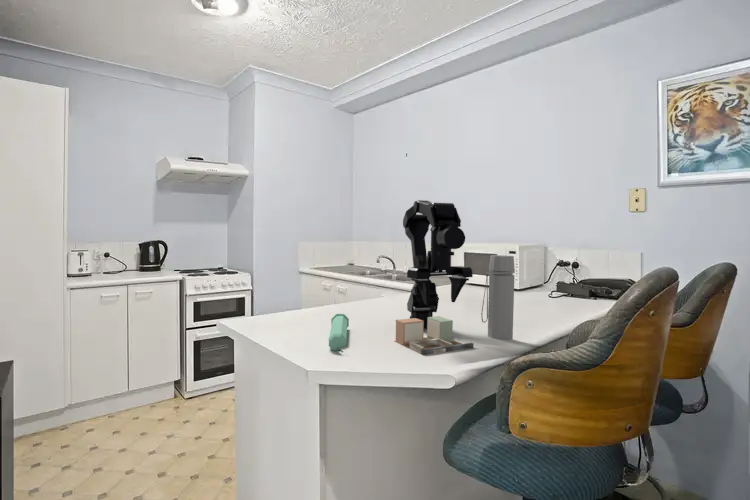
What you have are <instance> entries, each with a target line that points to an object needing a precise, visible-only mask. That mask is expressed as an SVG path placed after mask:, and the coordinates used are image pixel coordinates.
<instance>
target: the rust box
mask: <svg viewBox="0 0 750 500" xmlns="http://www.w3.org/2000/svg"><path fill="white" fill-rule="evenodd" d="M424 331H425V329H424V321H423V320H420V319H417V318H412V319H410V318H402V319H396V320H395V341H396V342H398V343H397V344H399V343H400V344H399V345H401V344H402V345H401V346H403V345H407V344H410V342H412V341H421V340H423V338H424V337H425V336H424V335H425V334H424ZM396 342H395V343H396Z"/></svg>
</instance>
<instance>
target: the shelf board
mask: <svg viewBox="0 0 750 500" xmlns="http://www.w3.org/2000/svg"><path fill="white" fill-rule="evenodd" d="M393 342H394V343H395V344H396V343H397V344H398V345H401V346H403V347H405V348H408V349H409V350H412V351H413V352H415V353H417V354H420V355H422V356H425V355H426V356H427V355H436V354H440V353H447V352H455V351H461V350H468V349H474V346H475V343H474V342H466V343H462V342H459V341H456V340H455V339H454V340H453V339H452V342H447V341H444V340H442V339H428V338H427V336H426V337H425V336H424V337H423V340H421V341H412V342H410V344H407V345H402V344H400V343H398V342H396V340H394V341H393Z"/></svg>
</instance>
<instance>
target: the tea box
mask: <svg viewBox="0 0 750 500" xmlns="http://www.w3.org/2000/svg"><path fill="white" fill-rule="evenodd" d="M453 324H454V321H453V319H449V318H446V317H443V316H439V315H436V316H433V317H427V329H426V337H427V338H428V339H442V340H444V341H447V342H452V340H453V331H454V329H453V326H454V325H453Z"/></svg>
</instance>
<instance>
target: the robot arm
mask: <svg viewBox="0 0 750 500" xmlns="http://www.w3.org/2000/svg"><path fill="white" fill-rule="evenodd" d="M461 223H462V220H461V218H460V215H459V213H458V210H457V208H456V207H455V204H454V203H453V202H451V203H450V202H431V201H429V200H422V199H421V200H420V199H418V200H415V201H413V205H412V206H411V207H409V208H408V209H406V211H405V213H404V216H403V219H402V226H403V228H404V232H405V236H406V237H407V238H408V239H409V240H410V244H411V245H410V246H411V254H412V255H411V256H412V264H413V266H412V267H409V268H408V269H407V271H406V274H407V276H406V277H407V278H410V279H411V281H412V282H414V284H413V286H412V288H411V289H410V295H409V298H408V301H407V304H406V307H407V308H406V309H407V311H408V312H409V313H410V316H409V319H412V318H417V319H420V320H423V321H424V330H427V317H434V315H433V313H437V312H438V306H439V300H440V298H439V294H438V293H437V285H436V283H435V282H432V280H431V279H430V277H439V276H441V277H443V276H446V277H447V276H448V278H449V281H450V283H451V284H450V298H451V302H452V303H455V302H456V300H457V298H458V297H459V294H460V293H461V291H462V289H463V287H464V286H465V284H466V282H467V281H470V279H469V278H473V277H474V276H473V275H474V273H473V269H472V267H470V266H462V265H460V266H459V265H458V266H457V265H455V266H453V265H452V256H455V251H452V250H457V249H460V248H462V247H463V246H464V244H465V241H466V234H465V233H464V231H463V229H461V227H462V224H461ZM430 226H431V227H430ZM429 229H430V250H428V251H427V248H426V247H427V246H426V235H427V233H428V232H429Z"/></svg>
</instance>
